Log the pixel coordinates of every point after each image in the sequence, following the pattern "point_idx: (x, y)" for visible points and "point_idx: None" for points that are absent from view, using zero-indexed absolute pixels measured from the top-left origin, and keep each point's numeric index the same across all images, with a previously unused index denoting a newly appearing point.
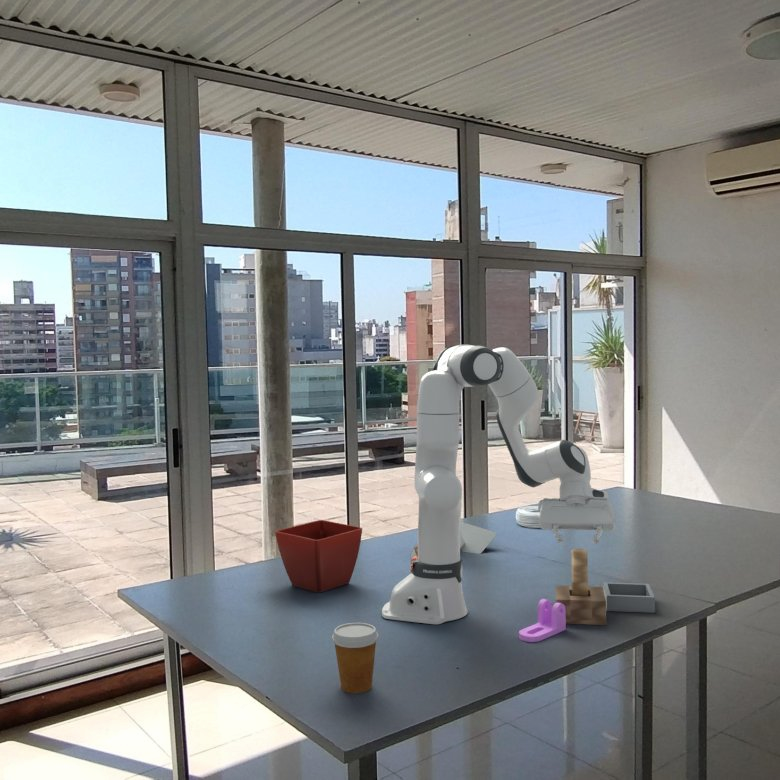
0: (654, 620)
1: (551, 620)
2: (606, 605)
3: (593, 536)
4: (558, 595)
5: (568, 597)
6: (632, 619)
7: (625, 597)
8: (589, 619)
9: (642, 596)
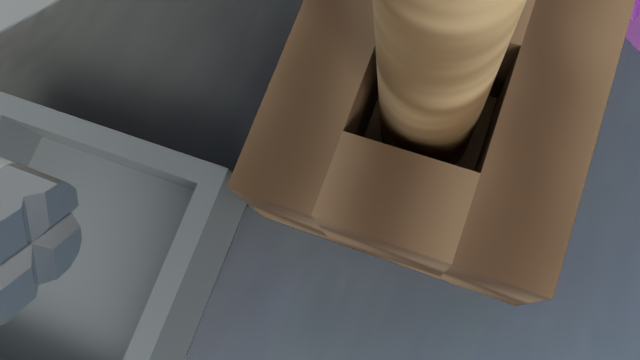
0: (109, 27)
1: (633, 21)
2: (234, 217)
3: (7, 212)
4: (601, 62)
5: (542, 13)
6: (194, 53)
7: (134, 137)
8: None
9: (45, 114)
